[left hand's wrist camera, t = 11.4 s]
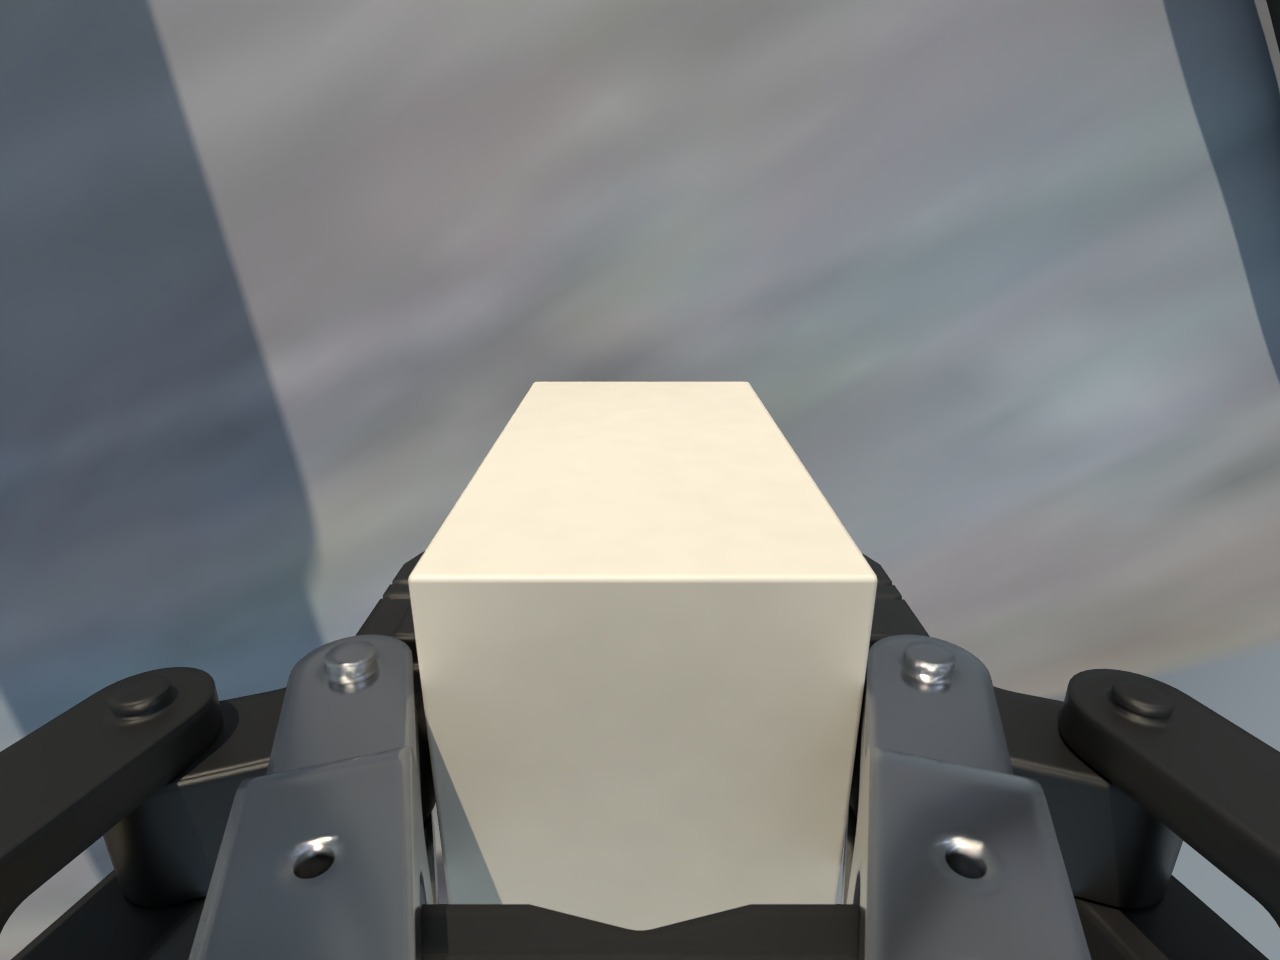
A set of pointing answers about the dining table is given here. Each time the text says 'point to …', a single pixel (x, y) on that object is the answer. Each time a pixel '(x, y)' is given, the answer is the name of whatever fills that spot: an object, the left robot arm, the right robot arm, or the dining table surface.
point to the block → (642, 660)
